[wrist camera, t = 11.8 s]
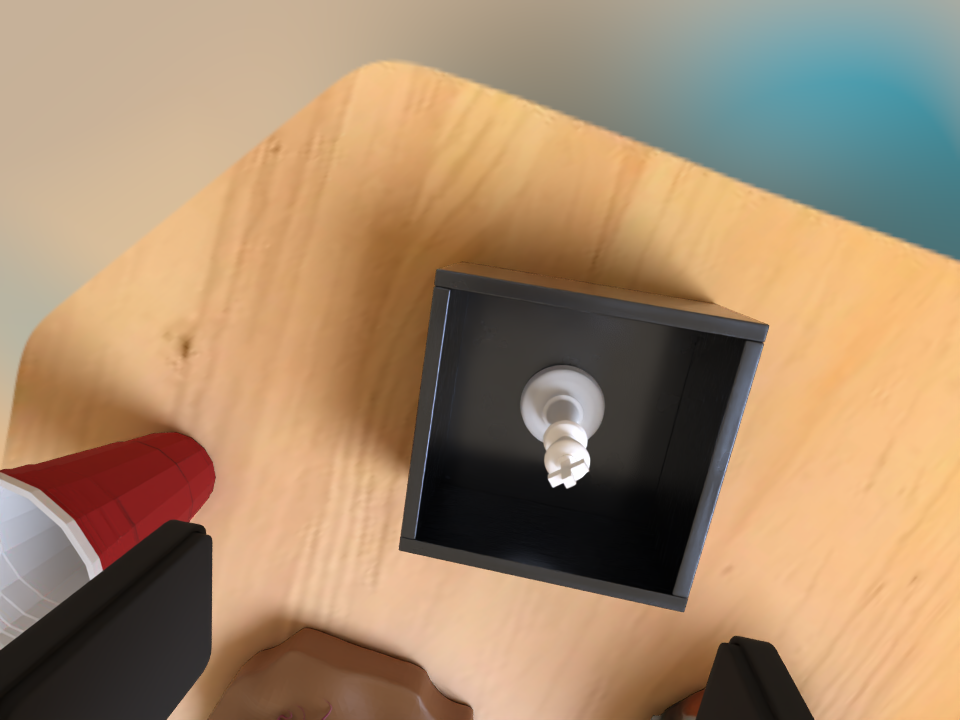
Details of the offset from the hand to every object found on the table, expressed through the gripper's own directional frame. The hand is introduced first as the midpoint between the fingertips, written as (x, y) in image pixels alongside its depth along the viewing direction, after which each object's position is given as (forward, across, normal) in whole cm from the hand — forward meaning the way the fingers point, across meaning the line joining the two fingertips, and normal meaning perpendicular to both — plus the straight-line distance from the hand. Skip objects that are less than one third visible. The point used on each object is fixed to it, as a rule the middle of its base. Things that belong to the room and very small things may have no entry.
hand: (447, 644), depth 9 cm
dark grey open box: (+22, -3, +2) cm, 23 cm away
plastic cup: (+23, +22, +12) cm, 34 cm away
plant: (+22, +8, +32) cm, 40 cm away
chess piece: (+22, -3, +2) cm, 22 cm away
